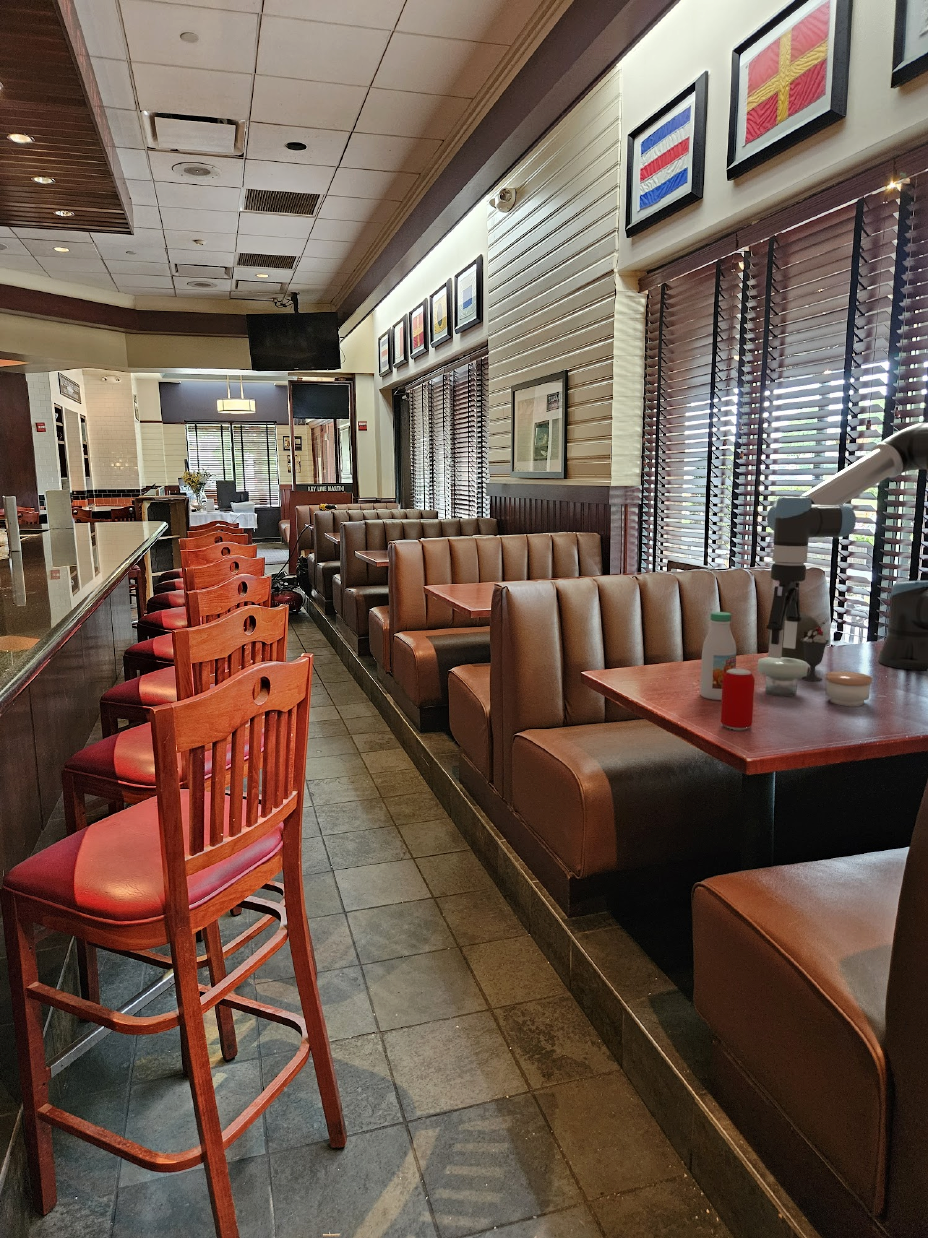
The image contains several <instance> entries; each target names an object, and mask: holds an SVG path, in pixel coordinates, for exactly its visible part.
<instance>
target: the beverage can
mask: <svg viewBox="0 0 928 1238" xmlns="http://www.w3.org/2000/svg"><path fill="white" fill-rule="evenodd" d="M755 681H756V680H755V677H754V676H753V672H752V671H750V670H748V669H743V668H736V669H729V670H727V671H726V673H725V674H724V676H723V682H722V700H721V707H720V723H721V725H722V726H724V727H725V728H727V729H728V728H730V729H729V730H731V729H733V731H746V730H747V729H749V728H751V727H752V725H753V715H754V713H753V712H754V695H755ZM746 727H747V728H746Z"/></svg>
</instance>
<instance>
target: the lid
mask: <svg viewBox="0 0 928 1238" xmlns="http://www.w3.org/2000/svg"><path fill="white" fill-rule="evenodd" d="M808 666H809V664H808V663H807V662H805V661H802V660H799V659H794V658H786V657H781V659H779V658H771V657H768V656H767V657H762V658H759V659H758V660H757V672H758V673H759V674H762V675H765V676H766V675H768V676H773V677H780V678H802V677H804V676H807V675H808V668H809V667H808Z"/></svg>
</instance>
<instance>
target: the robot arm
mask: <svg viewBox="0 0 928 1238" xmlns="http://www.w3.org/2000/svg"><path fill="white" fill-rule="evenodd" d="M915 470H926V480H928V421H926V422H925V421H924V422H919V423H916V424H913V425H911V426H908V427H906V428H903V429H901V430H899V431H898V432H896V433H894V434H892V435H890V436H889V437H887V438H885V439H883V440H882V441H880V442H878V443H877V444H875V445H874V446H873V447H872V448H871V451H870V453H868V454H866V455H864V456H863V457H861V458H859V459H858V460H856V461H855V462H854V463H852V464H850V465H849V466H847V467H845V468H843V469H842V470H840V471H839V472H837V473H836V474H833V475H831V476H830V477H829V478H827V479H826V480H824V481H822V482H820V483H819V484H817V485H816V486H814V487H812V488H811V489H809V490H807V491H806V492H804V493H803V494H801V495H799V496H780V497H779V498H777V501H776V503H774V504H773V505H772V506H771V507H770V508H769V510H768V512H767V515H766V522H767V525H768V527H769V528H770V529H771V531H773V545H772V547H771V548H770V552H771V553H772V558H771V561H772V562H773V563H772V564H771V567H770V568H771V570H770V578H771V580H773V581H778V582H779V583H778V586H774V588H773V590H774V591H773V599H772V603H771V609H770V613H769V617H768V624H767V625H766V630H769V631H770V640H769V648H768V656H767V657H771V658H779V659H781V655H782V642H783V647H784V648H792V649H795V646H796V634H797V622H796V621H799V622H801V617H800V613H801V609H800V607H801V606H800V603H801V602H800V582H804V581H805V580H806V573H807V566H806V564H805V563H807V562H808V550H809V539H810V538H811V539H812V538H834V539H838V538H842V537H847V536H849V535H851V533H853V531H854V529H855V528H856V522H857V521H856V520H857V516H856V513H855V511H854V509H853V508H851V506H847V505H845V504H846V503H848V502H850V501H851V500H852V499H854V498H856V497H858V496H859V495H861V494H862V493H864V492H866V491H868V490H869V489H871V488H872V487H874V486H875V485H877V484H878V483H880V482H882V481H883V480H885V479H887V478H890V479H891V478H892V479H893V478H896V477H898V476H899V475H901V474H902V473H905V472H909V471H915ZM889 599H890V600H889V614H888V626H887V635H886V637H885V639H884V642H883V645H882V648H881V650H880V651H879V652H878V659H877V660H878V661H877V662H879V664H881V663H882V664H881V665H885V666H888V667H891V668H896V669H905V670H915V671H928V580H907V581H905V580H904V581H897V582H895V583H893V585H892V587H891V593H890V595H889ZM785 616H786V619H787V620H788V621H785V628H784V641H783V630H782V627H783V623H784V619H785Z"/></svg>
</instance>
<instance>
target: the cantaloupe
mask: <svg viewBox="0 0 928 1238" xmlns="http://www.w3.org/2000/svg"><path fill="white" fill-rule="evenodd" d="M800 617H801V622H799V621H796V622H797V634H796V646H795V649H792V648H784V647H783V642H782V655H781V657H786V658H794V659H799V660H802V661H805V658H804V647H803V641H801V640H800V639H802V638H804V631H807V632H809V631H811V630H814V629H816V628H817V627H819V626H820V625H821V624H820V623H819V622H818V621H817V619H815V618H814V617H813V616H811V615H809V614H805V613H803V612H800ZM785 621H788V620H787V619H786V616H785V619H784V623H783V627H782V630H783V641H784V628H785ZM820 627H821V626H820ZM820 627H819V628H820ZM766 639H767V641H766V642H767V647H768V649H769V640H770V630H769V631H768V633H767V638H766ZM805 662H806V661H805Z"/></svg>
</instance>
